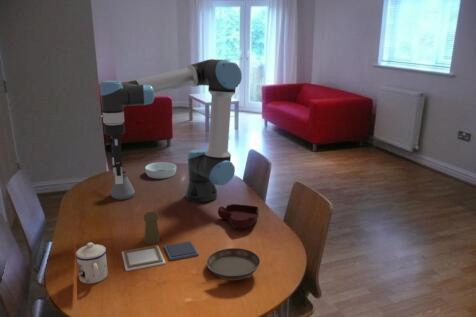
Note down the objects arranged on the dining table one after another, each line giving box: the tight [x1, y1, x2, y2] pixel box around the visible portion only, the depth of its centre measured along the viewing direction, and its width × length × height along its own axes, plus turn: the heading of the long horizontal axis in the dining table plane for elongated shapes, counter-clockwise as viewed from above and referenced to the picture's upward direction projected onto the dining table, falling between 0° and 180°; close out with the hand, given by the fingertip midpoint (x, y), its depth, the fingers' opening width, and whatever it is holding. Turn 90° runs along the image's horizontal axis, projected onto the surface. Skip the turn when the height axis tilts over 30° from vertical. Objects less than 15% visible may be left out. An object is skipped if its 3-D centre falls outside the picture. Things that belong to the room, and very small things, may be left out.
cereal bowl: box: [144, 161, 177, 180], centre depth 228 cm, size 17×17×7 cm
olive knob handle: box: [143, 211, 161, 245], centre depth 154 cm, size 6×6×11 cm
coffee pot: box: [109, 162, 136, 201], centre depth 201 cm, size 21×12×15 cm, turn 29°
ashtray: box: [217, 203, 260, 231], centre depth 172 cm, size 18×16×5 cm
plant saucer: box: [206, 247, 261, 281], centre depth 136 cm, size 18×18×3 cm
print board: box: [121, 245, 166, 272], centre depth 142 cm, size 13×13×1 cm
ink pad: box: [164, 240, 199, 261], centre depth 147 cm, size 10×10×1 cm
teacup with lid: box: [75, 241, 109, 285], centre depth 128 cm, size 12×9×12 cm
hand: (118, 178), depth 157 cm, fingers open, 13 cm apart
